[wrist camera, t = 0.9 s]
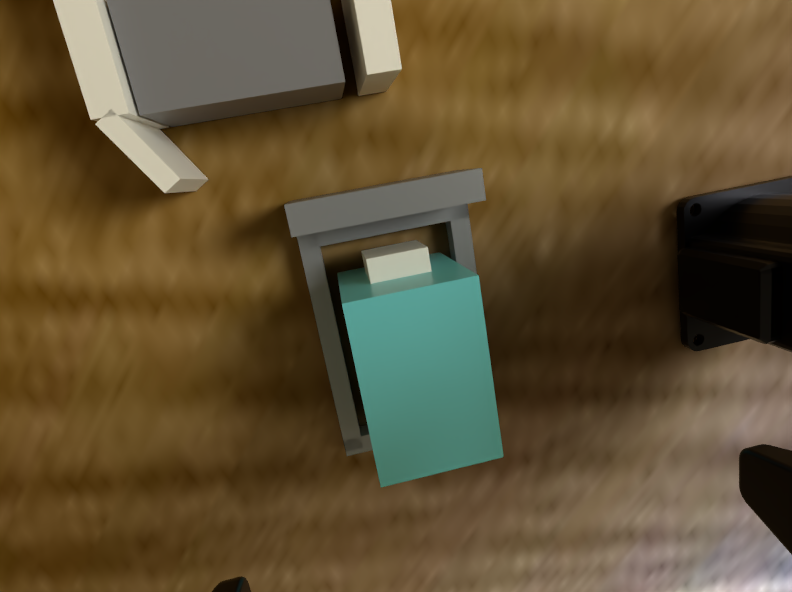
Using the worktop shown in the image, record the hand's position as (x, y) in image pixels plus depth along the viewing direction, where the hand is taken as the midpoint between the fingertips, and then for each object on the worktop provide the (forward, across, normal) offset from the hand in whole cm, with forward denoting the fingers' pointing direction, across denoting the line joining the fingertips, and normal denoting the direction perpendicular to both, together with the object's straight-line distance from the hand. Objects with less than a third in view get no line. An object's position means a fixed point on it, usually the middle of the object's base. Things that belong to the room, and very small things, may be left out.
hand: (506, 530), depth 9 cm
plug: (+11, 0, 0) cm, 11 cm away
